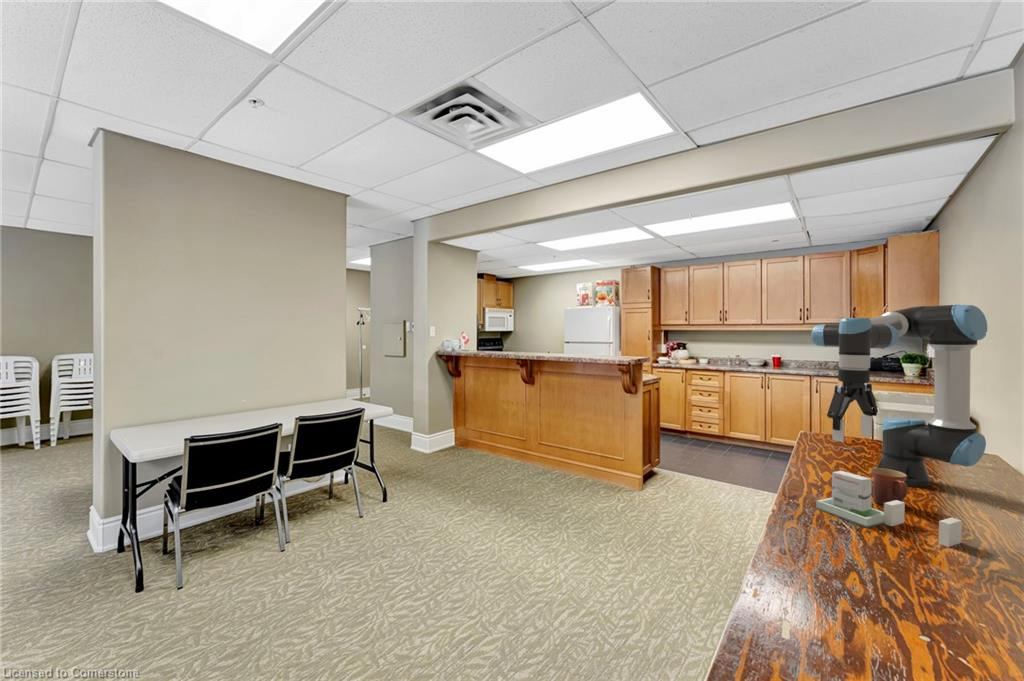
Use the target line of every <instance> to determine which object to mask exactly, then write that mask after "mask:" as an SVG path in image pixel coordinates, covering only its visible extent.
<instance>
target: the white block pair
mask: <svg viewBox="0 0 1024 681" xmlns="http://www.w3.org/2000/svg"><path fill="white" fill-rule="evenodd" d="M905 504H906V502H904V501H903V502H901V501H898V500H895V501H890V502H886V503H884V505H883V512H884V524H883V525H887V526H889V527H895V526H898V525H903V524H905V507H906V506H905ZM962 524H963V520H961V519H958V518H955V517H949V518H944V519H942V520H938V543H937V544H939V545H941V546H945V547H947V548H949V547H953V546H956V545H959V544H961V543H962V529H963V528H962Z"/></svg>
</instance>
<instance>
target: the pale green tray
mask: <svg viewBox="0 0 1024 681" xmlns="http://www.w3.org/2000/svg"><path fill="white" fill-rule="evenodd" d="M815 501H816V506H815V509H816V510H818V511H821V512H822V513H823V512H824V513H826V514H829V515H831V516H834V517H835V518H836V517H837V518H839V519H843V520H844V521H846V522H850V523H853V524H854V525H857V526H860V527H862V528H865V529H869V528H873V527H877V526H880V525H881V526H882V525H885V524H884V511H881V510H879V509H875V508H873V507H871V516H868V517H863V516H861V515H858V514H855V513H852V512H850V511H847V510H844V509H841V508H839V507H836V506H833V505H832V496H831V497H827V498H822V499H818V500H815Z"/></svg>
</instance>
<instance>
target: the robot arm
mask: <svg viewBox="0 0 1024 681" xmlns="http://www.w3.org/2000/svg"><path fill="white" fill-rule="evenodd" d="M987 332H988V320H987V318H986V316H985V313H984V312H983V311H982V310H981V308H980V307H978V306H976V305H973V304H950V305H949V304H947V305H945V304H944V305H943V304H942V305H922V306H920V305H919V306H911V307H907V308H902V309H897V310H893V311H888V312H885V313H883V314H882V315H879V316H874V317H844V318H841V319H840V320H839V323H832V324H828V323H824V324H817V325H815V326H814V327H813V328H812V331H811V334H810V335H811V341H812V343H813V344H814V345H815V346H817V347H825V348H826V347H830V348H831V347H833V348H834V347H836V348H838V358H837V359H838V367H839V369H838V370H837V372H838V373H837V379H838V381H839V382H842V385H835V386H834V392H833V396H832V399H831V402H830V405H829V408H828V411H827V413H826V416H827V417H828V418H829V419H832V437H831V438H832V441H835V442H841V443H844V441H845V419H843V417H844V416H845V414H846V412H847V410H848V409H849V407H850V405H851V403H853V402H854V401H855V402H857V405H858V407H859V408H860V411H861V412H862V414H860V436H861V437H867V438H872V437H873V416H874V417H877V415H878V412H879V411H878V407H877V403H876V401H875V396H874V392H873V386H872V383H870V380H871V379H870V378H871V371H870V370H868V369H870V368H871V349H882V350H883V349H887V348H891V347H894V346H895V345H896V344H897V343H898V341H899V338H905V339H906V338H907V339H909V338H910V339H919V340H920V339H923V340H927V339H928V346H930V347H931V348H932V349H933V350H934V364H933V365H934V367H933V368H934V375H933V376H934V378H933V379H934V380H933V383H934V384H933V386H934V387H933V388H934V389H933V390H934V393H933V394H934V395H933V396H934V398H933V404H934V405H933V406H934V407H933V418H931V419H930V420H928V421H926V420H925V419H922V418H912V417H911V418H910V417H904V418H903V417H893V418H892V417H891V418H887V419H885V420H884V421H883V425H882V442H881V443H882V446H881V447H882V450H881V451H882V452H881V454H882V455H881V458H880V460H879V462H878V464H877V465H876V468H884V469H891V470H895V471H899V472H902V473H904V474H906V475H907V478H906V480H905V483H906V484H907V487H915V488H916V487H917V488H918V487H919V488H922V487H923V488H925V487H930V485H931V478H930V475H929V472H928V469H927V468H926V465H925V458H927V459H931V460H935V461H940V462H944V463H948V464H951V465H958V466H962V467H971V466H975V465H976V464H978V462H980V460H981V459H982V458H983V457H984V454H985V450H986V447H987V441H986V438H985V435H983V434H982V433H979V432H977V425H976V424H975V423H973V422H972V421H971V420H970V419H971V351H972V349H974V348H975V347H977V346H978V341H980V340H983V339H984V338H985V337H986V336H987Z"/></svg>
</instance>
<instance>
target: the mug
mask: <svg viewBox="0 0 1024 681" xmlns="http://www.w3.org/2000/svg"><path fill="white" fill-rule="evenodd" d="M870 470H871V474H872V477H873V485H872V486H873V487H872V489H873V490H872V495H873V501H875V502H876V503H877V504H879V505H882V506H884V503H886V502H890V501H895V500H898V501H901V502H904V499H905V498H906V497H907V495H908V486H907V484H906V483H905V480H906V478H907V475H906V474H904V473H902V472H899V471H895V470H891V469H884V468H877V467H874V468H871V469H870Z"/></svg>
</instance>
